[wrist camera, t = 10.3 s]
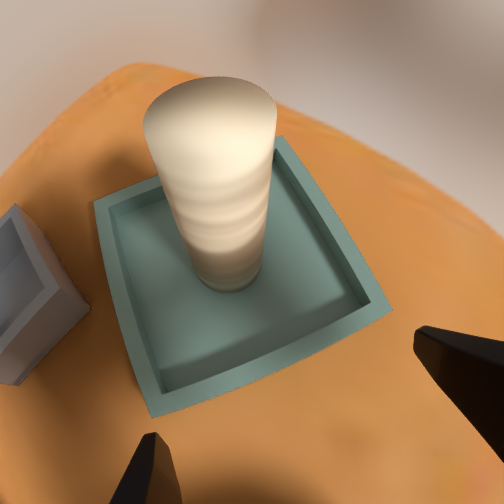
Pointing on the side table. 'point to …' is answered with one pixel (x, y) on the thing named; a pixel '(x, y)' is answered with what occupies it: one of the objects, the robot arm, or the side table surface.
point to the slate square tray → (32, 297)
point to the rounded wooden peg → (216, 173)
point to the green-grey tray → (231, 304)
